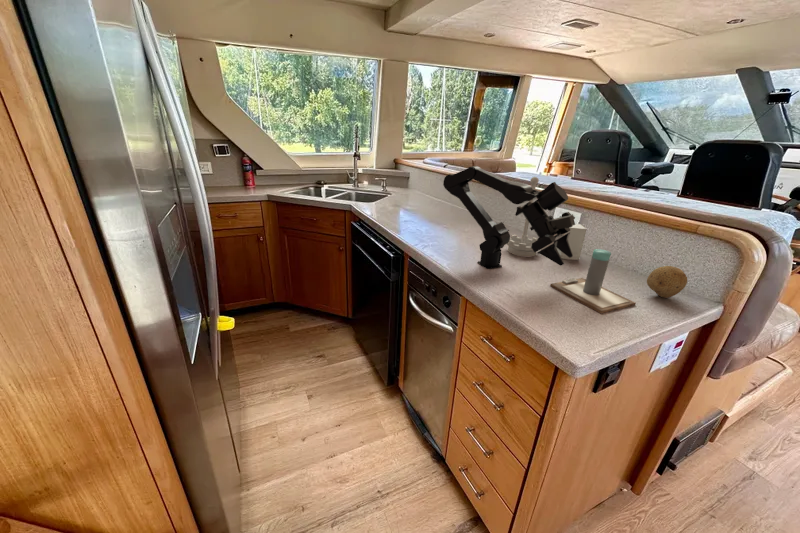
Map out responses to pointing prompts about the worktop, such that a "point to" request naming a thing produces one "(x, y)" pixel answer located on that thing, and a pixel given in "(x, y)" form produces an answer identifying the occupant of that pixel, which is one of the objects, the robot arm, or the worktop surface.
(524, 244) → the flag stand
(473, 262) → the worktop surface
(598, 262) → the green-topped grey cylinder
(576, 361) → the worktop surface
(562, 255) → the supplement box
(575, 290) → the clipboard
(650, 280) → the brown potato
